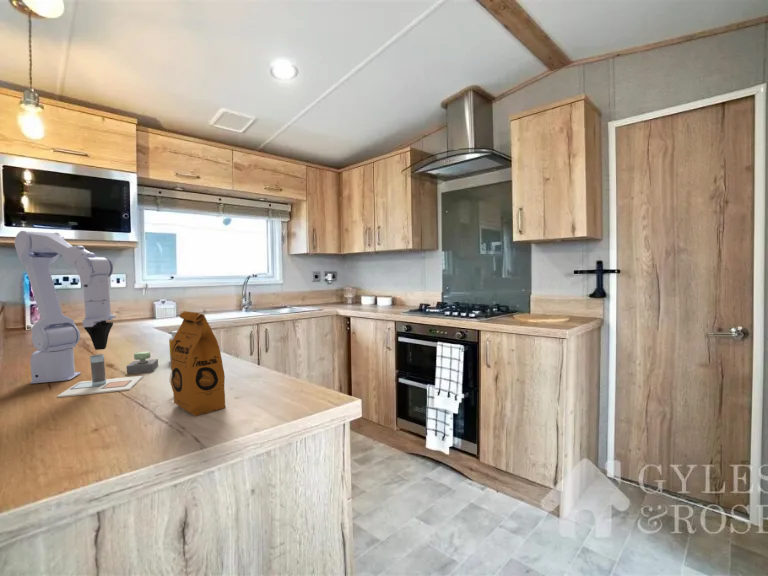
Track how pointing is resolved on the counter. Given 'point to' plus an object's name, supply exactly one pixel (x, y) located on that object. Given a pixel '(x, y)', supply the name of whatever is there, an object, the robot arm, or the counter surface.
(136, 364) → the button housing
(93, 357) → the grey cylinder
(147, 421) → the counter surface
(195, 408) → the coffee package
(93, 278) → the robot arm
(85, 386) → the white sorting board
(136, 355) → the button
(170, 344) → the supplement bottle
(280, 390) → the counter surface
